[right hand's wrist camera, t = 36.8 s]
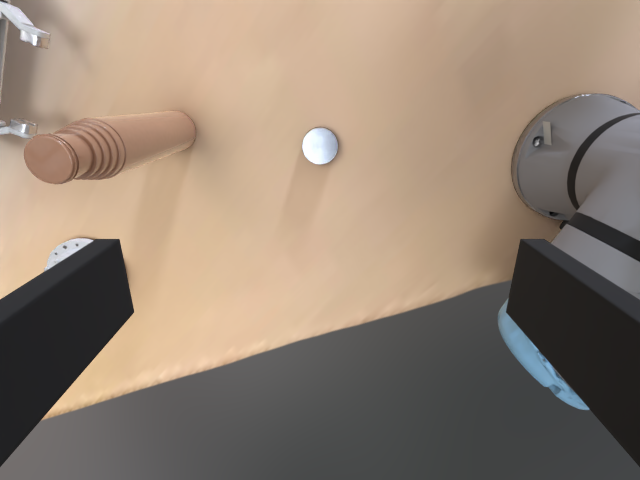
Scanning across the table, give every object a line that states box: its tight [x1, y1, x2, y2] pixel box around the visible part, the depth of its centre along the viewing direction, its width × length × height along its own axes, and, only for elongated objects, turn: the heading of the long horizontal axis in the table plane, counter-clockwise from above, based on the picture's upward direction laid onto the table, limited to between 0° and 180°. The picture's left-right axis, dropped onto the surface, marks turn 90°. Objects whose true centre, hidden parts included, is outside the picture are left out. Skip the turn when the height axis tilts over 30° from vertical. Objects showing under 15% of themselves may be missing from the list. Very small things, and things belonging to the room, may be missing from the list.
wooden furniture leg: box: [24, 111, 196, 184], centre depth 35 cm, size 5×5×24 cm
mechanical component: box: [44, 238, 94, 272], centre depth 51 cm, size 10×4×10 cm
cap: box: [302, 127, 338, 164], centre depth 46 cm, size 4×4×2 cm
